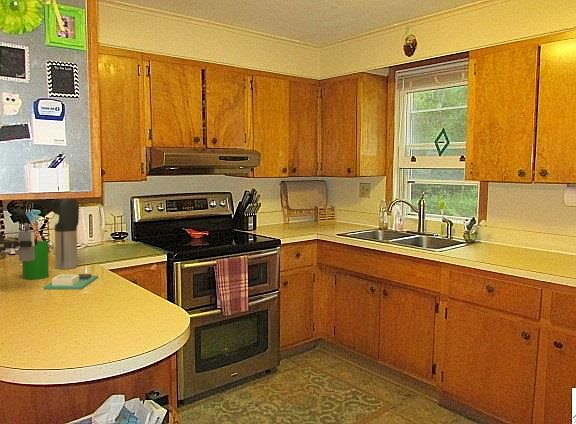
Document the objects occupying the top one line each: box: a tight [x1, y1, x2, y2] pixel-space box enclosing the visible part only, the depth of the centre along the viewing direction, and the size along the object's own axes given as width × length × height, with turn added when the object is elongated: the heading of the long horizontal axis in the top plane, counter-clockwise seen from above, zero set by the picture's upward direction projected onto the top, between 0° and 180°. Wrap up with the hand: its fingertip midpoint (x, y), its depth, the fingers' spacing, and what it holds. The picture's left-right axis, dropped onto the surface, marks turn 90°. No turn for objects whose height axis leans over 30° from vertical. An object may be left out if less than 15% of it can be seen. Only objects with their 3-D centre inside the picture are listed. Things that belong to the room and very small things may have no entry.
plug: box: [17, 222, 35, 262], centre depth 181 cm, size 4×5×14 cm
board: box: [43, 272, 99, 290], centre depth 193 cm, size 20×14×4 cm
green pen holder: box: [21, 229, 49, 280], centre depth 202 cm, size 10×9×20 cm
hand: (34, 243), depth 181 cm, fingers closed on plug, 4 cm apart
